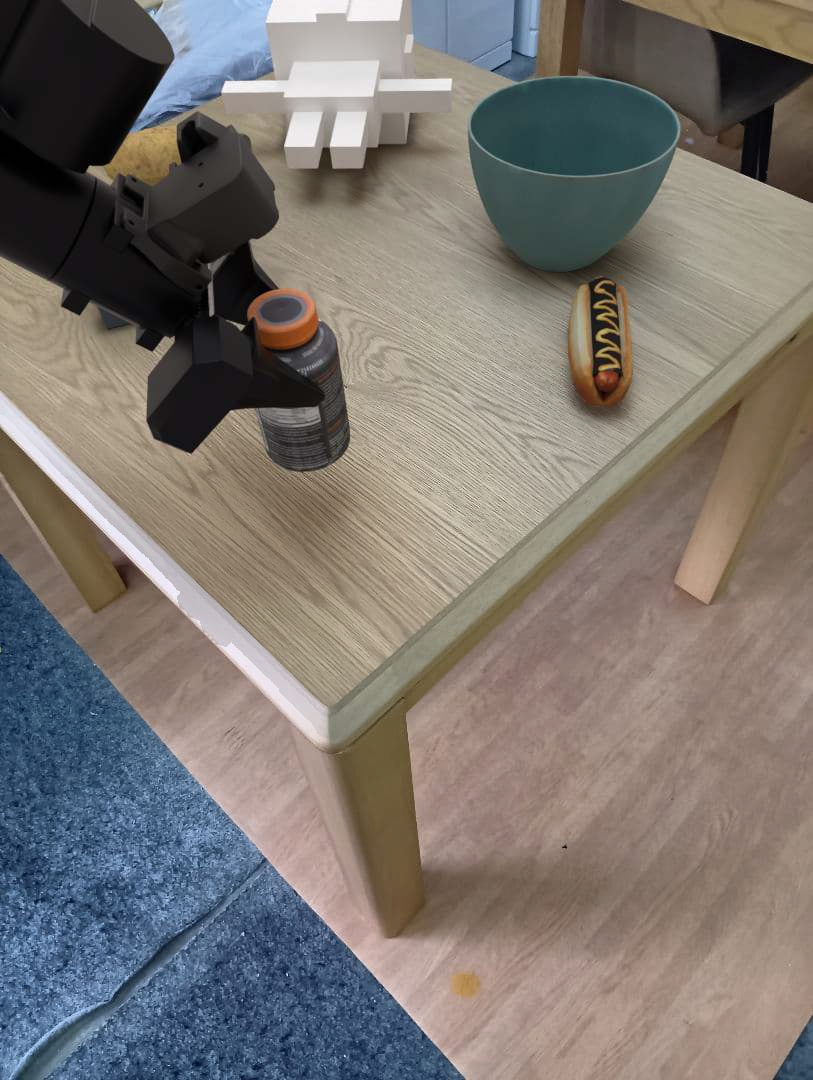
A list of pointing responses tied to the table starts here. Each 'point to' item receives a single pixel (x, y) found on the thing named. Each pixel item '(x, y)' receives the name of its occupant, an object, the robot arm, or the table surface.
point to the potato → (146, 155)
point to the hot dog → (600, 343)
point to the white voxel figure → (340, 79)
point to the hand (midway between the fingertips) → (315, 366)
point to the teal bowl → (569, 164)
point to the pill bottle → (313, 352)
